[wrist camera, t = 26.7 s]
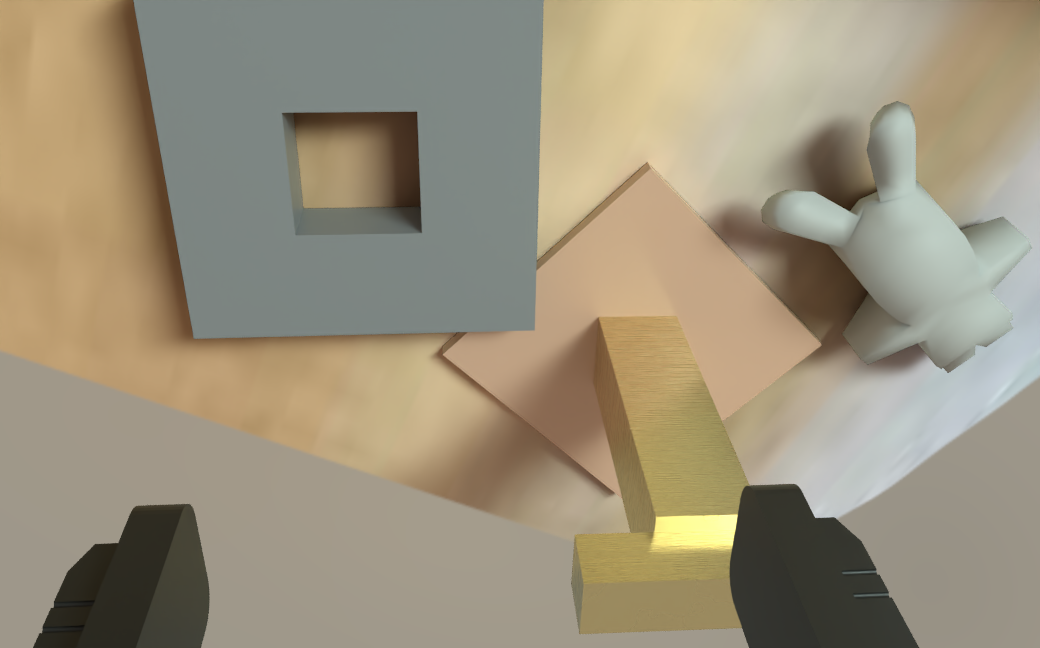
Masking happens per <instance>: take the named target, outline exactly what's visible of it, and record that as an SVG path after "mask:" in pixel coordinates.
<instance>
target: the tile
mask: <svg viewBox="0 0 1040 648" xmlns="http://www.w3.org/2000/svg"><path fill="white" fill-rule="evenodd" d="M626 316H677V318H678V320H679V322H680V325H681V327H682V329H683V332H684V334H685V336H686V339H687V341H688V343H689V346H690V348H691V350H692V353H693V355H694V357H695V360H696V362H697V364H698V367H699V369H700V371H701V374H702V376H703V378H704V381H705V383H706V385H707V388H708V390H709V392H710V395H711V397H712V399H713V402H714V404H715V406H716V409H717V411H718V413H719V416H720V418H721V420H722V421H724V420H725V419H726V418H727V417H729V416H730V415H731V414H733V413H734V412H735V411H737V410H738V409H739V408H740V407H742V406H743V405H744V404H746V403H747V402H748V401H750V400H751V399H752V398H754V397H755V396H756V395H757V394H759V393H760V392H761V391H763V390H764V389H765V388H767V387H768V386H769V385H770V384H772V383H773V382H774V381H776V380H777V379H778V378H780V377H781V376H782V375H784V374H785V373H786V372H787V371H789V370H790V369H791V368H793V367H794V366H795V365H797V364H798V363H799V362H800V361H802V360H803V359H804V358H806V357H807V356H808V355H810V354H811V353H812V352H813V351H815V350H816V349H817V348H819V347H820V346H821V345H822V344H821V343H820V341H819V340H818V338H817V337H816V336H815V335H814V334H813V333H812V332H811V331H810V330H809V329H808V328H807V327H806V325H805V324H804V323H803V322H802V321H801V320H800V319H799V318H798V317H797V316H796V315H795V314H794V313H793V312H792V311H791V310H790V309H789V308H788V307H787V306H786V305H785V304H784V303H783V302H782V301H781V300H780V299H779V298H778V297H777V296H776V294H775V293H774V292H773V291H772V290H771V289H770V288H769V287H768V286H767V285H766V284H765V283H764V282H763V281H762V280H761V279H760V278H759V277H758V276H757V275H756V274H755V273H754V272H753V271H752V270H751V269H750V268H749V267H748V266H747V265H746V264H745V262H744V261H743V260H742V259H741V258H740V257H739V256H738V255H737V254H736V253H735V252H734V251H733V250H732V249H731V248H730V247H729V246H728V245H727V244H726V243H725V242H724V241H723V240H722V239H721V238H720V237H719V236H718V235H717V234H716V233H715V231H714V230H713V229H712V228H711V227H710V226H709V225H708V224H707V223H706V222H705V221H704V220H703V219H702V218H701V217H700V216H699V215H698V214H697V213H696V212H695V211H694V210H693V209H692V208H691V207H690V206H689V205H688V204H687V203H686V202H685V200H684V199H683V198H682V197H681V196H680V195H679V194H678V193H677V192H676V191H675V190H674V189H673V188H672V187H671V186H670V185H669V184H668V183H667V182H666V181H665V180H664V179H663V178H662V177H661V176H660V175H659V174H658V173H657V172H656V171H655V170H654V168H653V167H652V166H651V165H650V164H649V163H648V162H647V163H646V164H645V165H644V166H643V167H642V168H641V169H640V170H638V171H637V172H636V173H635V174H634V175H633V176H632V177H631V178H630V179H628V180H627V181H626V182H625V183H624V184H623V185H622V186H621V187H620V188H618V189H617V190H616V191H615V192H614V193H613V194H612V195H611V196H610V197H608V198H607V199H606V200H605V201H604V202H603V203H602V204H601V205H599V206H598V207H597V208H596V209H595V210H594V211H593V212H592V213H591V214H589V215H588V216H587V217H586V218H585V219H584V220H583V221H582V222H581V223H579V224H578V225H577V226H576V227H575V228H574V229H573V230H572V231H571V232H569V233H568V234H567V235H566V236H565V237H564V238H563V239H562V240H561V241H559V242H558V243H557V244H556V245H555V246H554V247H553V248H552V249H551V250H549V251H548V252H547V253H546V254H545V255H544V256H543V257H542V258H541V259H539V260H538V261H537V267H536V305H535V330H532V331H491V332H458V333H457V334H456V335H455V336H454V337H453V338H451V339H450V340H449V341H448V342H447V343H446V344H445V345H444V346H443V347H442V350H443V356H445V357H446V358H447V359H448V360H450V361H451V362H452V363H453V364H455V365H456V366H457V367H458V368H460V369H461V370H462V371H463V372H465V373H466V374H467V375H468V376H470V377H471V378H472V379H473V380H475V381H476V382H477V383H478V384H480V385H481V386H482V387H483V388H485V389H486V390H487V391H488V392H490V393H491V394H492V395H493V396H495V397H496V398H497V399H498V400H500V401H501V402H502V403H503V404H505V405H506V406H507V407H508V408H510V409H511V410H512V411H513V412H515V413H516V414H517V415H518V416H520V417H521V418H522V419H523V420H525V421H526V422H527V423H528V424H530V425H531V426H532V427H533V428H535V429H536V430H537V431H538V432H540V433H541V434H542V435H543V436H545V437H546V438H547V439H548V440H550V441H551V442H552V443H553V444H555V445H556V446H557V447H558V448H560V449H561V450H562V451H563V452H565V453H566V454H567V455H568V456H570V457H571V458H572V459H573V460H575V461H576V462H577V463H578V464H580V465H581V466H582V467H583V468H585V469H586V470H587V471H588V472H590V473H591V474H592V475H593V476H594V477H596V478H597V479H598V480H599V481H601V482H602V483H603V484H604V485H606V486H607V487H608V488H609V489H611V490H612V491H613V492H614V493H616V494H617V495H618V496H619V497H621V498H622V496H621V492H620V488H619V484H618V480H617V476H616V472H615V468H614V464H613V460H612V456H611V452H610V448H609V444H608V440H607V436H606V432H605V428H604V424H603V420H602V416H601V412H600V408H599V404H598V400H597V396H596V392H595V388H594V384H593V382H594V369H595V356H596V343H597V331H598V318H599V317H626Z"/></svg>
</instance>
